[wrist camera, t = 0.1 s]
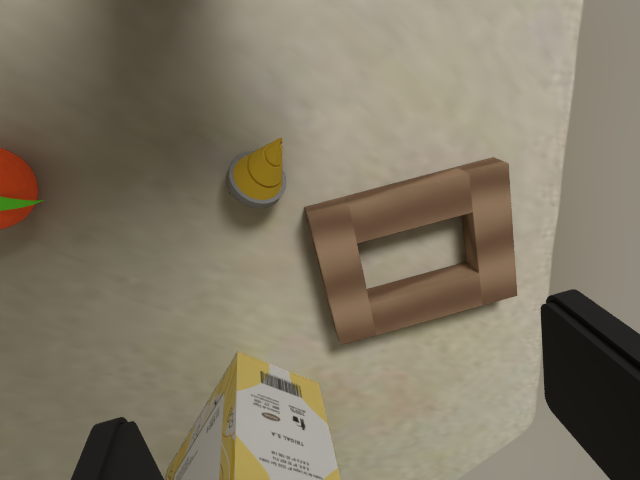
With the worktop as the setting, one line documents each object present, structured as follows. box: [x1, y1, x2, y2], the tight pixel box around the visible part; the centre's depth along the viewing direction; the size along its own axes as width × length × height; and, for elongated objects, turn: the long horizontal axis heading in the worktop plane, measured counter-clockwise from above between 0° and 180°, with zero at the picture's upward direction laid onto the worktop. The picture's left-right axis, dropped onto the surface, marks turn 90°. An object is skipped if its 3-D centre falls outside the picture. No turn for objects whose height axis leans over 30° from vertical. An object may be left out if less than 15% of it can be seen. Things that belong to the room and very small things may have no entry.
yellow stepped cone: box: [227, 138, 286, 208], centre depth 42 cm, size 5×5×10 cm
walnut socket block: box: [305, 157, 517, 345], centre depth 49 cm, size 15×20×3 cm
